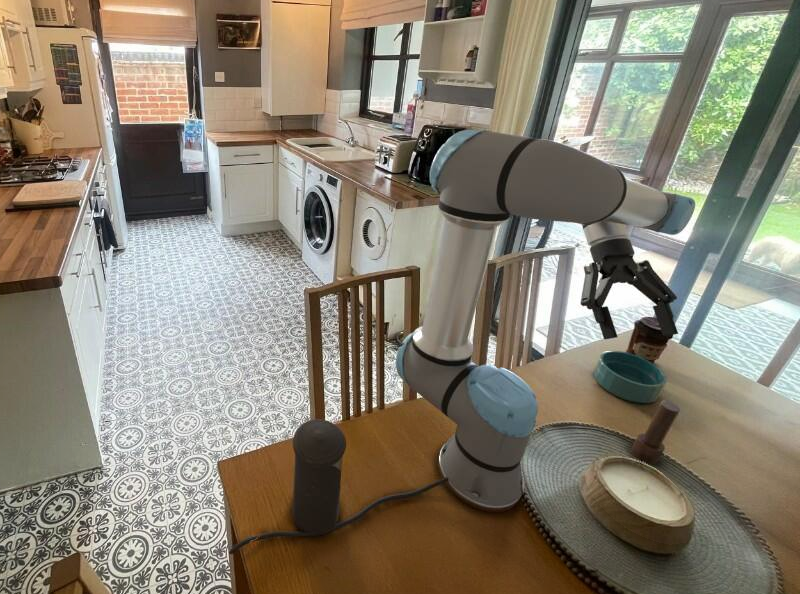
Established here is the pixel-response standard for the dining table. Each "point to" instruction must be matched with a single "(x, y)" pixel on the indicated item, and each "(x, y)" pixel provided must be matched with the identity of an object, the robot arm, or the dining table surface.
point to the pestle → (655, 434)
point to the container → (317, 475)
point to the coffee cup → (647, 339)
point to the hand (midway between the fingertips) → (641, 336)
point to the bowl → (629, 376)
